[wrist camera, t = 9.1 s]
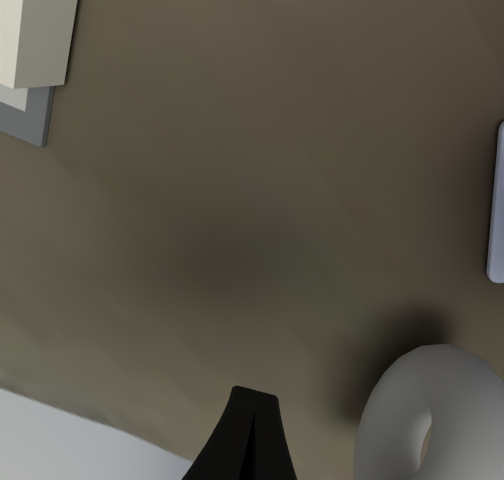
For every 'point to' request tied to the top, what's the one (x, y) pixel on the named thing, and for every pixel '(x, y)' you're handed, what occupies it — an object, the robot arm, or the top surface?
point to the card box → (35, 42)
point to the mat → (26, 113)
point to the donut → (433, 419)
